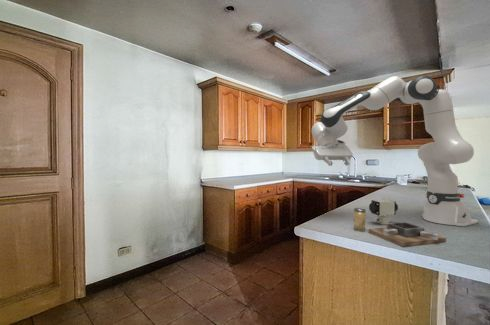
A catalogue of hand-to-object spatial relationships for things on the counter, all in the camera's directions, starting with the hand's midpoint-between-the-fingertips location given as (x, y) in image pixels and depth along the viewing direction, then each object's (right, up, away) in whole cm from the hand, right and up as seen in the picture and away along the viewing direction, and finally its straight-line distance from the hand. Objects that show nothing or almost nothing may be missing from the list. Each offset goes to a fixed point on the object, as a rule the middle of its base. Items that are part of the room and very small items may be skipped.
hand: (339, 164), depth 113 cm
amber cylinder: (+4, -28, -13) cm, 31 cm away
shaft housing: (+17, -28, -22) cm, 40 cm away
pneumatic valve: (+19, -28, -4) cm, 34 cm away
